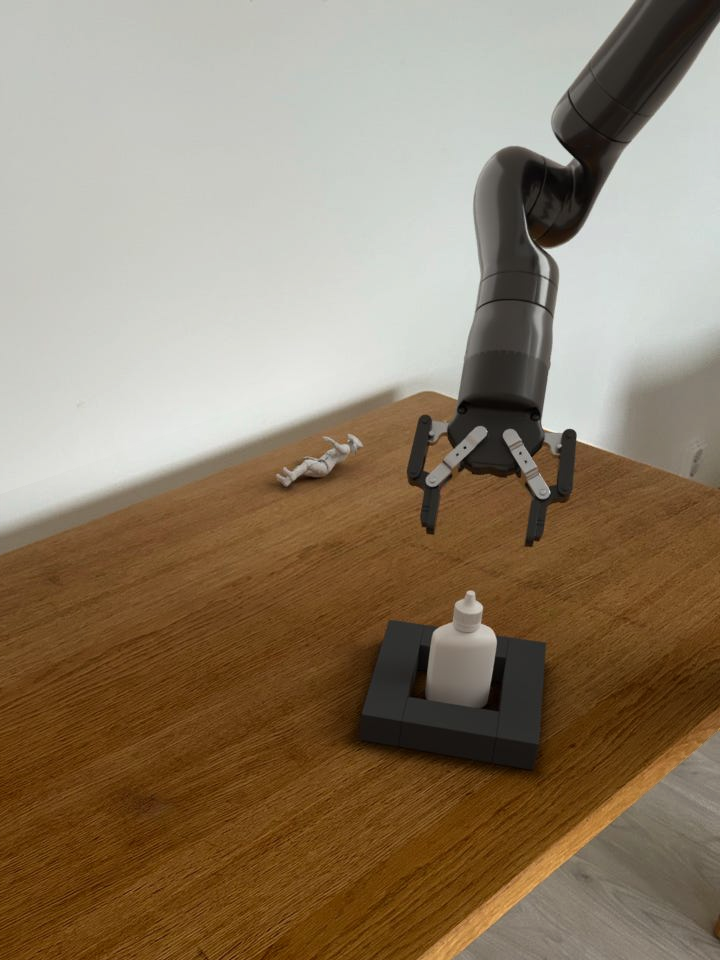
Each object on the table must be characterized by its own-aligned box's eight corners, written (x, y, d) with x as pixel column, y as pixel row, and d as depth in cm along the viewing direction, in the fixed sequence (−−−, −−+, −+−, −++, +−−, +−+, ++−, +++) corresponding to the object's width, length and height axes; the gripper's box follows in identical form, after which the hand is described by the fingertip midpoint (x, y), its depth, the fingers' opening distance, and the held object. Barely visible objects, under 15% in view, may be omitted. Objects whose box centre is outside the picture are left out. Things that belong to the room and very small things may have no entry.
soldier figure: (266, 483, 132) (327, 430, 136) (291, 511, 132) (351, 458, 136) (287, 463, 125) (350, 408, 129) (312, 493, 125) (375, 437, 129)
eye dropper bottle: (433, 679, 97) (447, 572, 90) (491, 696, 94) (510, 587, 87) (418, 706, 93) (431, 597, 86) (478, 723, 91) (496, 613, 84)
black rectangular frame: (541, 667, 98) (546, 642, 96) (533, 770, 86) (538, 744, 84) (386, 643, 101) (389, 619, 100) (359, 740, 90) (361, 714, 88)
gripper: (425, 340, 89) (395, 516, 87) (594, 353, 86) (567, 537, 84) (427, 376, 96) (400, 540, 94) (583, 389, 93) (558, 559, 91)
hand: (479, 538), depth 89 cm, fingers open, 8 cm apart
